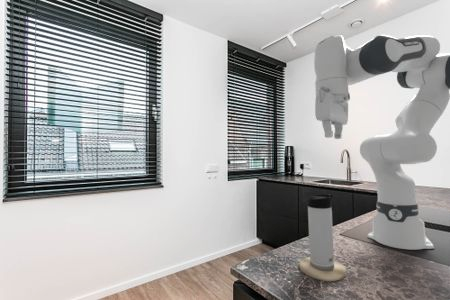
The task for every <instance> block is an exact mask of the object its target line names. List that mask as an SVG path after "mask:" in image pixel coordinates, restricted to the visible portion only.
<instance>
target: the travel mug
mask: <svg viewBox="0 0 450 300" xmlns="http://www.w3.org/2000/svg"><path fill="white" fill-rule="evenodd" d="M331 198H333V195H332V194H330V193H327V194H314V195H310V196H308V197H307V216H308V217H307V219H308V242H309V243H308V245H309V257H310V264H311V266H312V267H314V268H315V269H318V270H322V271H329V270H332V269H333V268H334V260H335V257H334V255H335V254H334V232H333V231H334V230H333V211H332V210H333V209H332V199H331Z"/></svg>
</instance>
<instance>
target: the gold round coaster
mask: <svg viewBox="0 0 450 300" xmlns="http://www.w3.org/2000/svg"><path fill="white" fill-rule="evenodd" d="M299 269H300V272H302V274H305V276H308V277H310V278H311V279H315V280H319V281H323V282H324V281H325V282H337V280H338V281H341V280H343V279H345V278H346V277H347V268H346V266H345V265H344V264H343V263H341V262H339V261H337V260H335V259H334V268H333V269H332V270H329V271H322V270H318V269H315V268H314V267H312V266H311V264H310V256H308V257H305V258H303V259H301V260H300V262H299Z"/></svg>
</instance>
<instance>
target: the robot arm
mask: <svg viewBox="0 0 450 300" xmlns="http://www.w3.org/2000/svg"><path fill="white" fill-rule="evenodd" d="M440 51H441V43H440V41H439V40H438V39H437V38H436V37H434V36H431V35H414V36H408V37H404V38H398V37H393V36H390V35H387V34H379V35H376V36H375V37H373V38H372V39H370V40H368V41H367V42H365V43H364V44H363V45H360V46H359V47H357V48H355V49H351V48H350V47H349V46H347V45H346V43H345V40H344V37H343V35H339V34H338V35H331V36H329V37H327V38H325V39H323V40H322V41H320V42H318V44H317V45H316V47H315V51H314V57H313V58H314V59H313V61H314V64H313V65H314V73H315V77H316V79H315V83H314V85H315V99H314V100H315V101H314V102H315V109H314V113H315V114H314V115H315V120H316V121H319V122H322V128H323V131H324V137H325V138H326V139H328V138H334V139H335V140H340V139H342V137H343V134H342V133H343V128H344V127H343V126H346V125H347V124H348V121H349V101H350V100H351V96H350V92H349V86H352V85H355V84H357V83H360V82H363V81H365V80H369V79H371V78H374V77H377V76H380V75H383V74H386V73H390V72H392V73H396V74H397V75H396V80H397V83H398V84H399V86H400V87H401V88H404V89H417V88H418V92H417V93H416V94H415V95H414V96H413V97H412V98H411V99H410V100H409V102H408V103H407V104H406V105H405V106H404V108H403V109H402V110H401V111H400V113H399V114H398V115H397V117H396V119H395V126H396V128H397V130H396V131H395V132H393V133H387V134H380V135H374V136H371V137H368V138H366V139H364V140H363V141H362V142H361V144H360V147H359V153H360V156H361V157H362V159H364V161H366V162H367V164H368V165H369V166H370V168H371V170H372V172H373V174H374V178H375V181H376V190H377V191H376V193H377V201H376V211H377V212H376V213H375V214H374V215H372V231H370V233H367V238H369V239H371V240H374V241H376V242H377V243H379V244H382V245H384V246H387V247H391V248H395V249H401V250H410V251H412V250H415V251H416V250H423V249H424V250H425V249H427V250H428V249H429V250H431V249H435V247H434V243H432V242H431V240H430V239H429V238H428V237H427V236H426V235H427V232H426V226H425V222H424V221H423V219H421V218H420V217H419V205H418V203H417V196H416V183H415V181H414V180H413V178H411V177H410V176H408V175H407V174H406V173H405V171H404V170H403V168H402V165H417V164H423V163H427V162H429V161H432V159H433V158H434V157H435V156H436V153H437V151H438V150H437V148H438V147H437V143H436V140H435V139H434V137H433V136H432V135H430V134H431V133H430V132H431V130H432V129H433V128H434V126H435V124H436V123H437V122H438V120H439V119H440V118H441V116H442V115H443V114H444V112H445V110H446V108H447V107H448V104H449V101H450V53H440ZM439 53H440V54H439ZM332 125H333V127H334V131H333V129H332ZM333 134H334V135H333ZM333 136H334V137H333Z"/></svg>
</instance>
